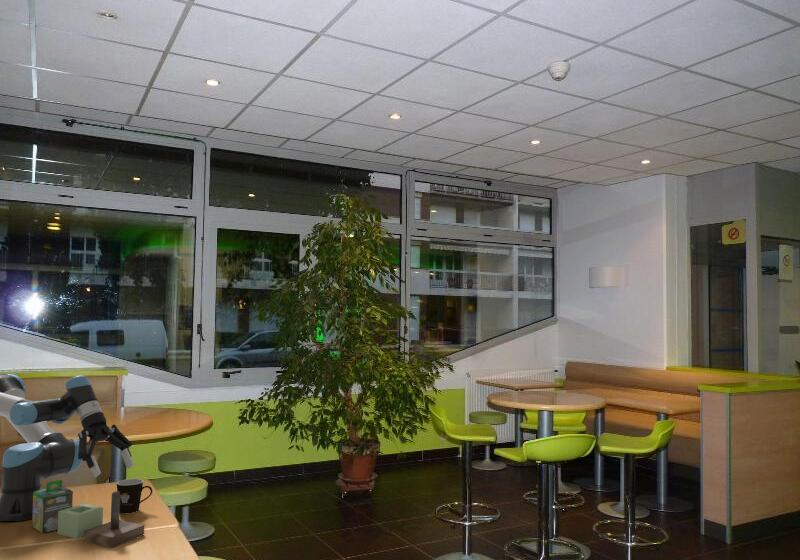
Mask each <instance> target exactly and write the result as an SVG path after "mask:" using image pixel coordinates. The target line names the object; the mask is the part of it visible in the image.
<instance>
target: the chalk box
mask: <svg viewBox="0 0 800 560" xmlns="http://www.w3.org/2000/svg"><path fill="white" fill-rule="evenodd" d="M53 485H57V486H54V487H52V486H53ZM73 494H74V491H73V490H71V489H69V488H67V487H65V486H63V480H62V479H59V480H52V481H48V482H47V483H46V488H44V489H41V490H39V491H35V492H33V517H32V519H31V520H32V523H31V524H32V527H31V528H34V529H35V530H36V531H38V532H40V533H42V534H45V533H50V532H53V531H58V511H61V510H64V509H67V508H71V507H73V498H74V497H73V496H74V495H73Z"/></svg>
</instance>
